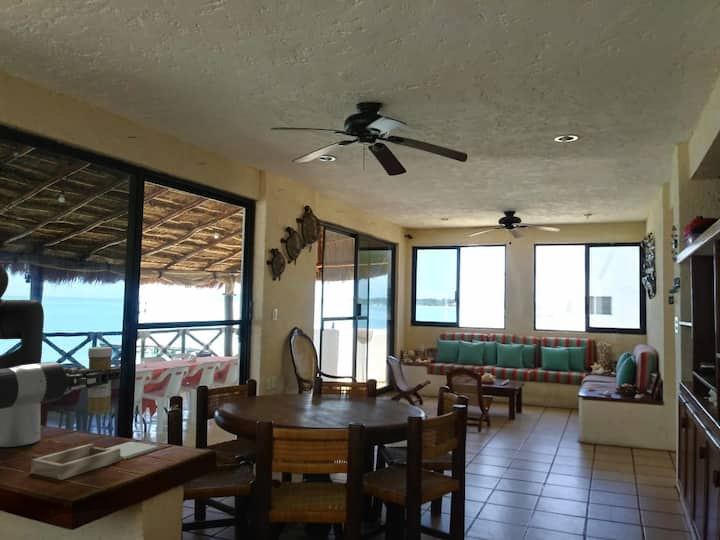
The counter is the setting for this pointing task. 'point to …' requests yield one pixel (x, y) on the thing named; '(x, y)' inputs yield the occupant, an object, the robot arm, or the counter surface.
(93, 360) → the sprinkles bottle
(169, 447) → the counter surface
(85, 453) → the rectangular wooden frame
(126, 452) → the pad
